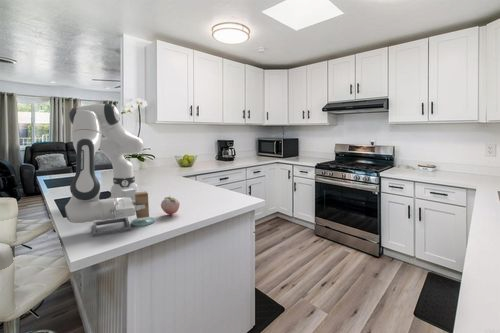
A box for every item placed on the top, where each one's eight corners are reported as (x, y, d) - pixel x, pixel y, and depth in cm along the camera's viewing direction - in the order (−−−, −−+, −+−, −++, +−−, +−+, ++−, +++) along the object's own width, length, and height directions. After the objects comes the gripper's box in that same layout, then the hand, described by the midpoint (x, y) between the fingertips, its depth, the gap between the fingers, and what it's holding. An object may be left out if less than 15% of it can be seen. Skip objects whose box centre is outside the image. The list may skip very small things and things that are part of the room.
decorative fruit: (183, 214, 135) (183, 195, 134) (171, 218, 128) (170, 198, 127) (170, 211, 140) (170, 192, 138) (158, 215, 133) (157, 196, 131)
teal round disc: (130, 221, 125) (130, 219, 125) (152, 217, 129) (152, 215, 129) (132, 227, 116) (132, 225, 116) (156, 223, 121) (156, 221, 121)
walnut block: (136, 215, 123) (134, 192, 122) (147, 213, 126) (146, 191, 124) (137, 218, 119) (136, 194, 117) (149, 216, 121) (147, 193, 120)
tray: (93, 224, 120) (93, 222, 120) (127, 219, 127) (127, 217, 127) (92, 236, 106) (92, 234, 106) (130, 230, 113) (130, 227, 113)
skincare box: (133, 209, 143) (131, 188, 141) (137, 211, 140) (135, 189, 138) (122, 212, 138) (120, 190, 136) (125, 214, 135) (124, 191, 134)
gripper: (110, 207, 106) (146, 203, 112) (109, 196, 124) (140, 193, 130) (111, 222, 107) (147, 217, 113) (110, 209, 124) (141, 205, 131)
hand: (144, 204), depth 122 cm, fingers closed on walnut block, 5 cm apart
